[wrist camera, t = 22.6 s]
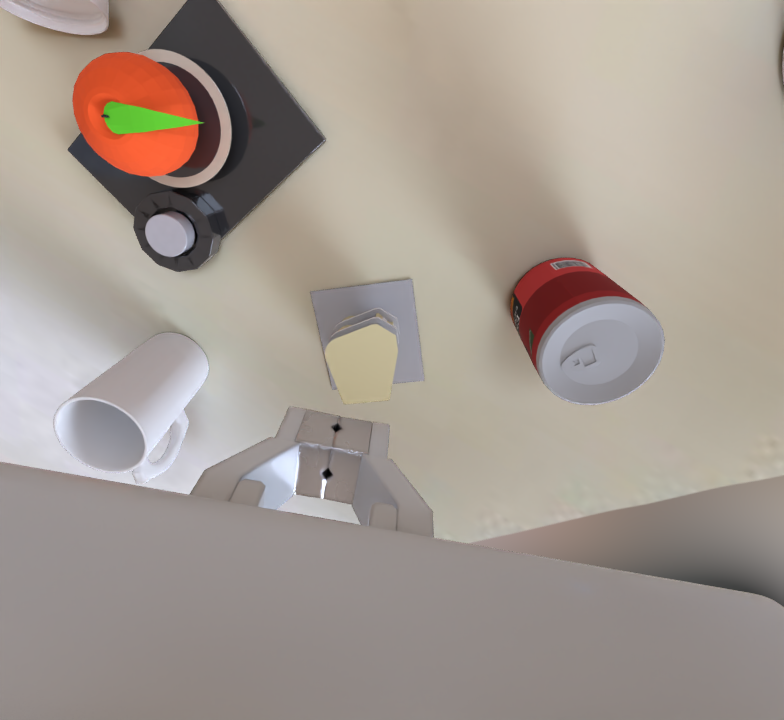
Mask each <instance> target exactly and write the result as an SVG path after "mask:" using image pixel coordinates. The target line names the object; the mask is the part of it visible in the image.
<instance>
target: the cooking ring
mask: <svg viewBox="0 0 784 720" xmlns="http://www.w3.org/2000/svg"><path fill="white" fill-rule="evenodd" d="M136 54H139V55H144V56H146V57H148V58H150V59H151V60H153V61H155V62H157V63H159V64H161V65H163V66H164V67H166V68H167V69H168V70H169V71H170V72H172V73H173V74H174V75H175V76H176V77H177V78H178V79H179V80H180V82H181V83H182V84H183V86H184V87H185V88H186V90H187V91H188V93H189V95H190V97H191V99H192V102H193V104H194V106H195V109H196V113H197V118H198V121H199V122H203V123H201V124H198V139H197V143H196V147H195V150H194V152H193V153H192V155H191V157H190V158H189V160H188V161H187V162H186V163H185V164H183V165H182V166H181V167H180V168H179V169H177V170H175V171H173V172H170V173H168V174H165V175H163V176H152V177H150V178H151V179H153V180H155V181H157V182H159V183H161V184H165V185H168V186H172V187H180V188H186V187H193V186H197V185H200V184H203V183H205V182H207V181H208V180H210V179H212V178H213V177H214V176H215V175H216V174H217V173H218V172H219V171H220V169H221V168H222V167H223V165H224V163H225V162H226V159H227V157H228V154H229V151H230V147H231V140H232V128H231V120H230V115H229V111H228V108H227V105H226V102H225V100H224V98H223V96H222V94H221V92H220V90H219V88H218V87H217V85H216V84H215V82H214V81H213V80H212V78H211V77H210V76H209V75H208V74H207V73H206V72H205V71H204V70H203V69H202V68H201V67H200V66H199V65H197V64H196V63H195V62H193V61H192V60H190V59H189V58H187V57H185V56H183V55H181V54H178V53H175V52H172V51H168V50H163V49H150V50H144V51H141V52H138V53H136Z"/></svg>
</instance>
